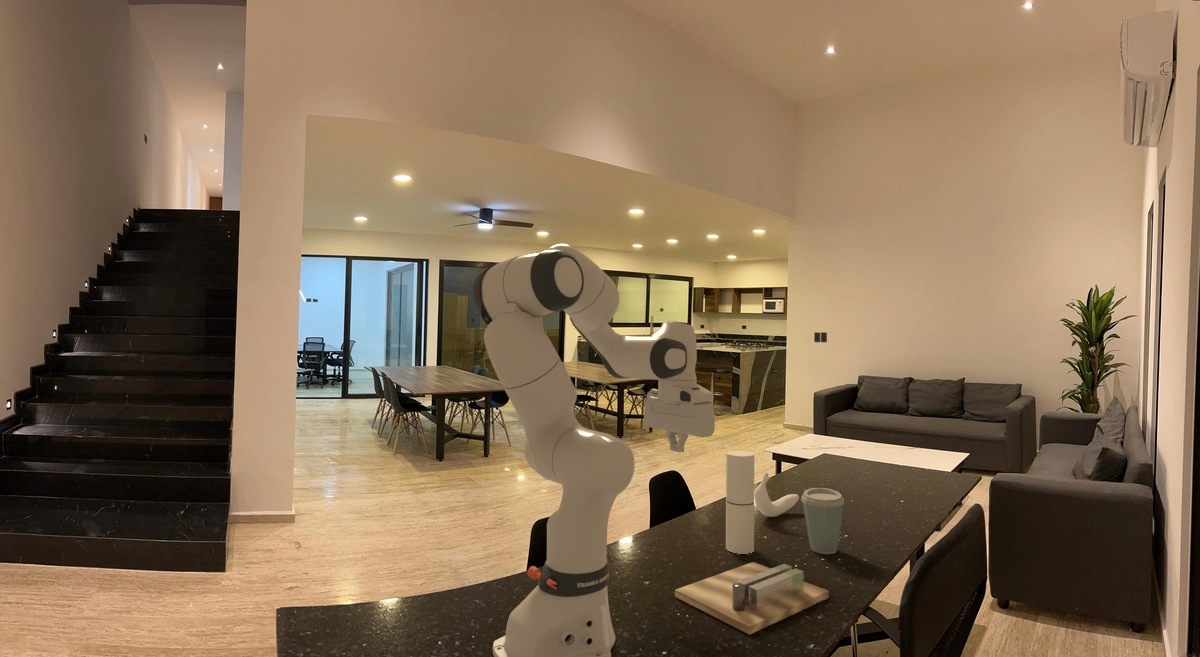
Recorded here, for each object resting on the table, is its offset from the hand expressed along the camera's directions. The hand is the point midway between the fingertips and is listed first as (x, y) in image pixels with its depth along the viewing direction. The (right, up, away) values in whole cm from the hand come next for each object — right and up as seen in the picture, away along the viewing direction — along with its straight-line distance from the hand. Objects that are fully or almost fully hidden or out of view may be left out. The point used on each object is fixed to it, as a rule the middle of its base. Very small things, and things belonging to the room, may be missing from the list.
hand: (677, 451), depth 141 cm
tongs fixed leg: (+19, -27, -15) cm, 36 cm away
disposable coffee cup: (+40, -29, +17) cm, 52 cm away
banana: (+36, -29, +45) cm, 65 cm away
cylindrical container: (+19, -29, +17) cm, 38 cm away
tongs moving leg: (+16, -27, -14) cm, 35 cm away
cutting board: (+15, -29, -11) cm, 34 cm away
